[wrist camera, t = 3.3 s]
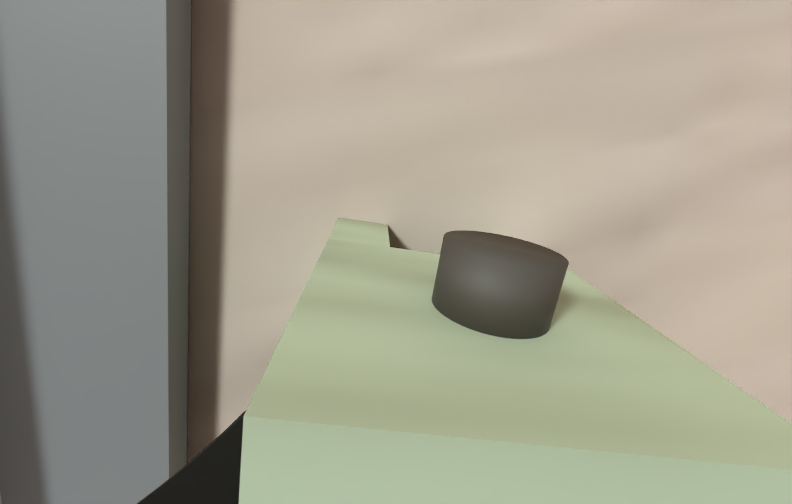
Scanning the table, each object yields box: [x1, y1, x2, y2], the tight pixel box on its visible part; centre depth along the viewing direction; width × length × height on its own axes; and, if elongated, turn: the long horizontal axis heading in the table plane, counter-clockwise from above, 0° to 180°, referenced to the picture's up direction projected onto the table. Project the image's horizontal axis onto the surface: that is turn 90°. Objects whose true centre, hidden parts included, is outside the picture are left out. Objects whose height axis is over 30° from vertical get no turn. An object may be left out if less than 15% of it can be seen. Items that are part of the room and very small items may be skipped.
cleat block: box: [239, 218, 792, 504], centre depth 7 cm, size 9×5×7 cm, turn 171°
